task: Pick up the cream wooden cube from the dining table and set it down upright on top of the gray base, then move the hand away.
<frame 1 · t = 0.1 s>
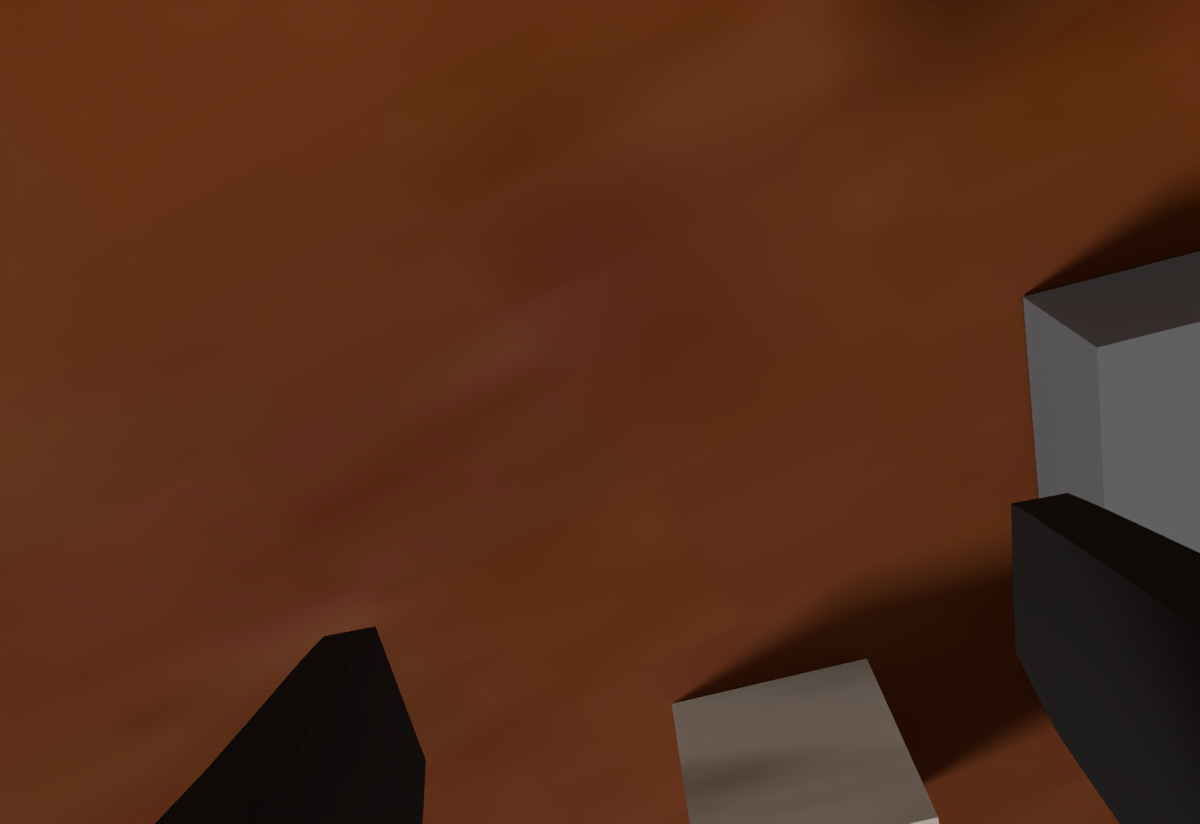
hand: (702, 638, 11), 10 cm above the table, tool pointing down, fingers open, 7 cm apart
cream cube: (785, 751, 25), on the table
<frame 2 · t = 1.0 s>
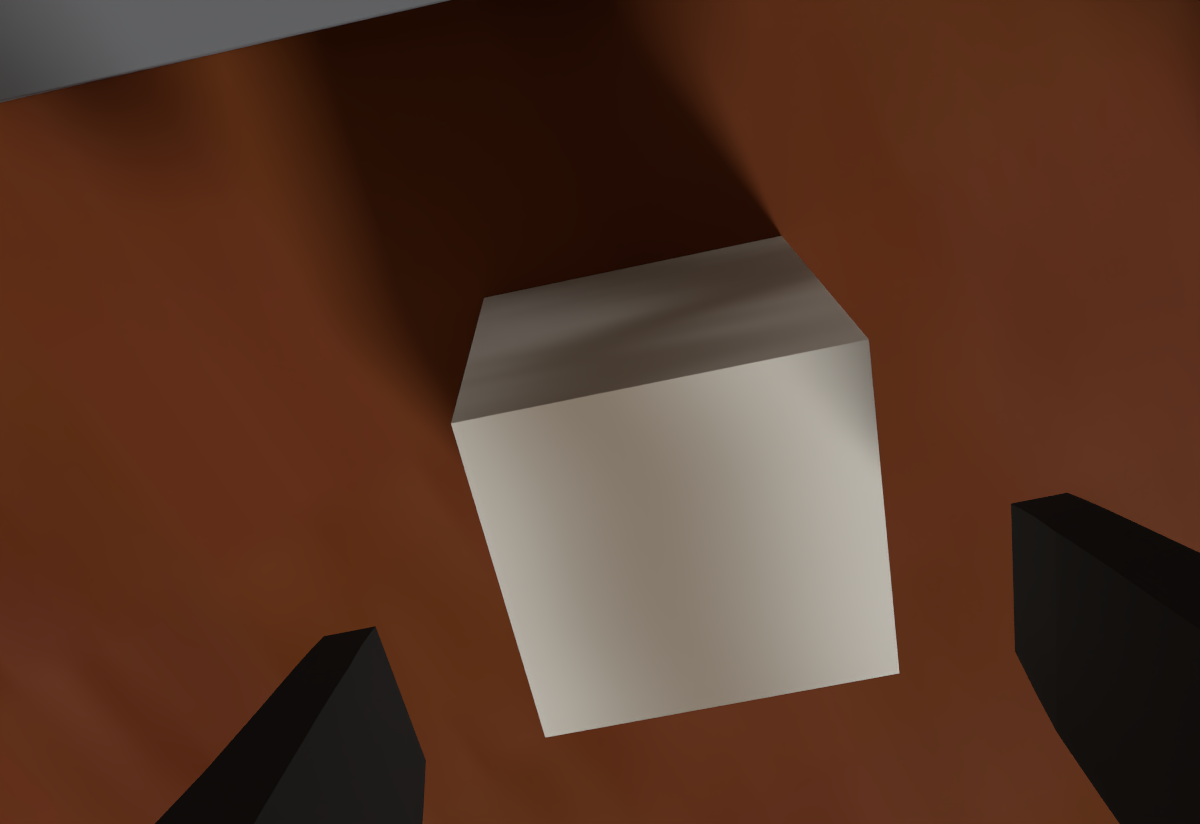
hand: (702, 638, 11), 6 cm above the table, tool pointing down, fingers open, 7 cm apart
cream cube: (657, 400, 17), on the table
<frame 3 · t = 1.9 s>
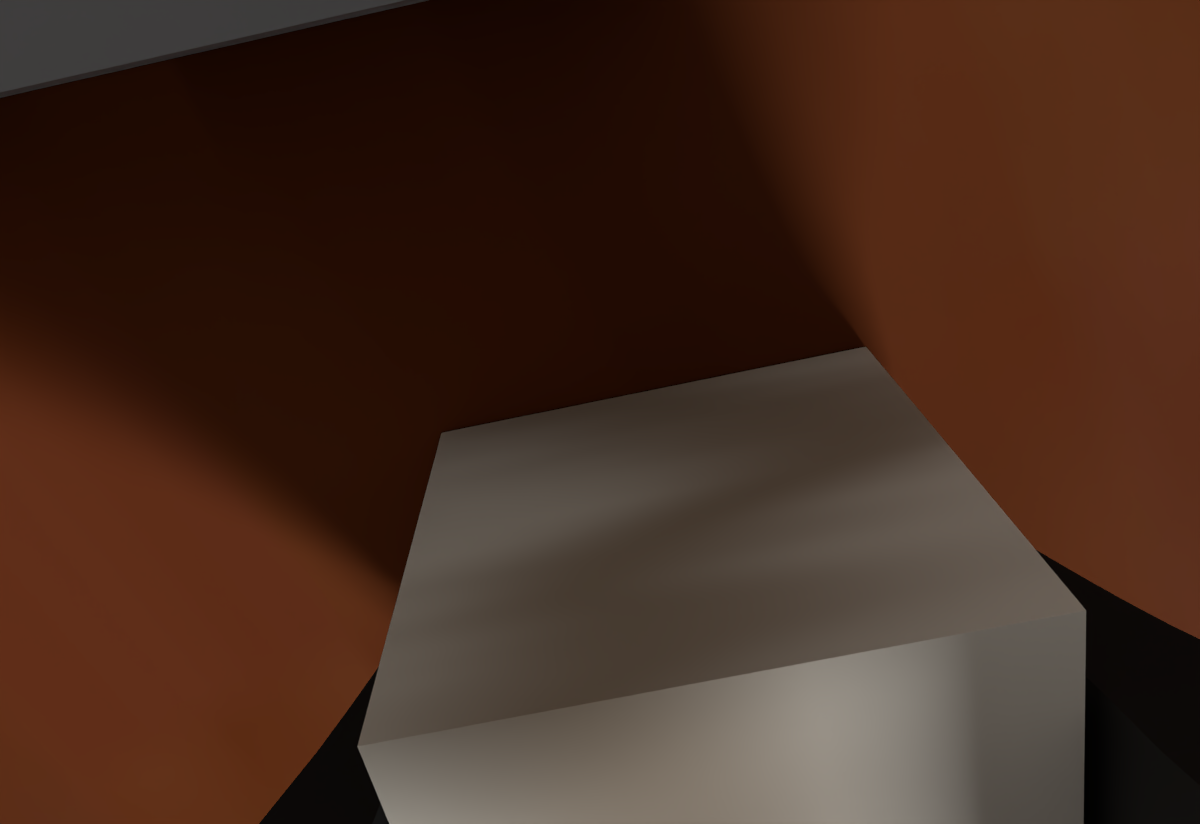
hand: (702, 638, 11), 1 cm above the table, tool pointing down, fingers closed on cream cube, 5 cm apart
cream cube: (686, 567, 12), on the table, touching gripper
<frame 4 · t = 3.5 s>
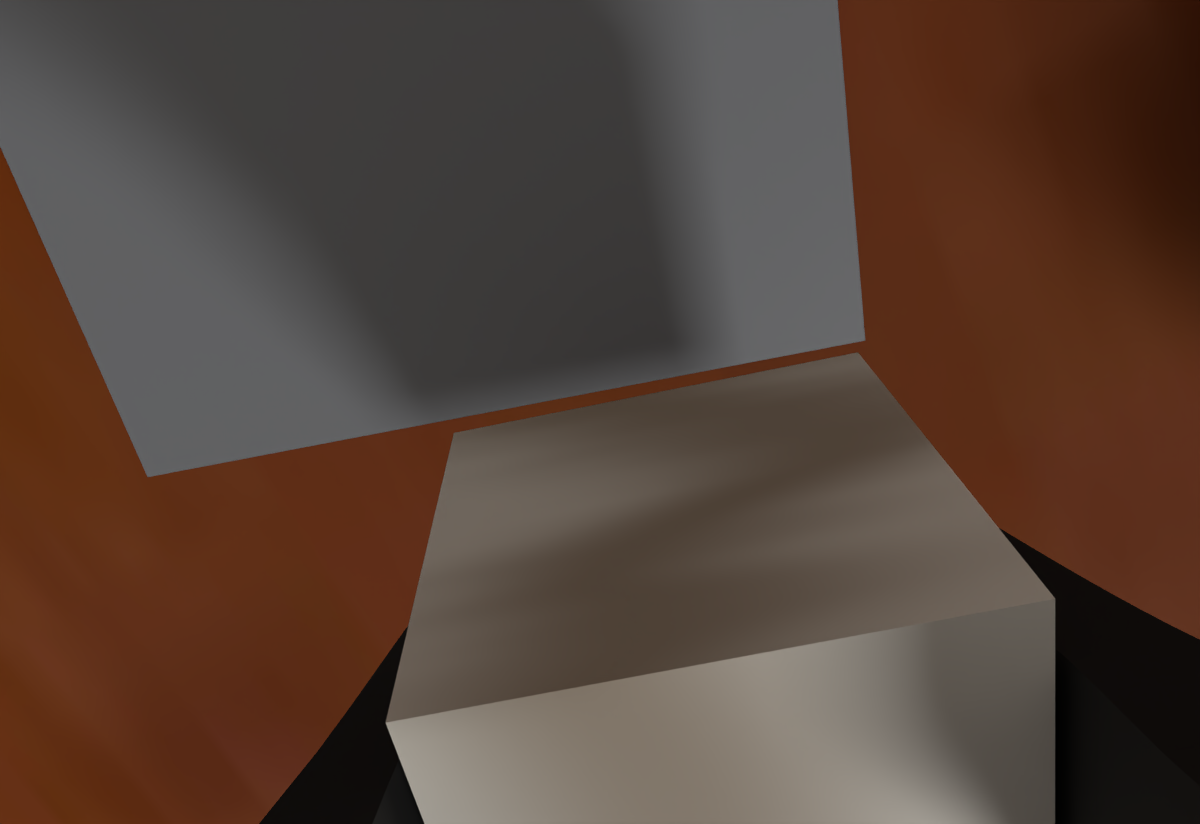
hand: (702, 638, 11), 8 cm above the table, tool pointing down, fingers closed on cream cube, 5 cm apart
gray base: (427, 13, 16), on the table
cream cube: (686, 562, 13), point 7 cm above the table, touching gripper
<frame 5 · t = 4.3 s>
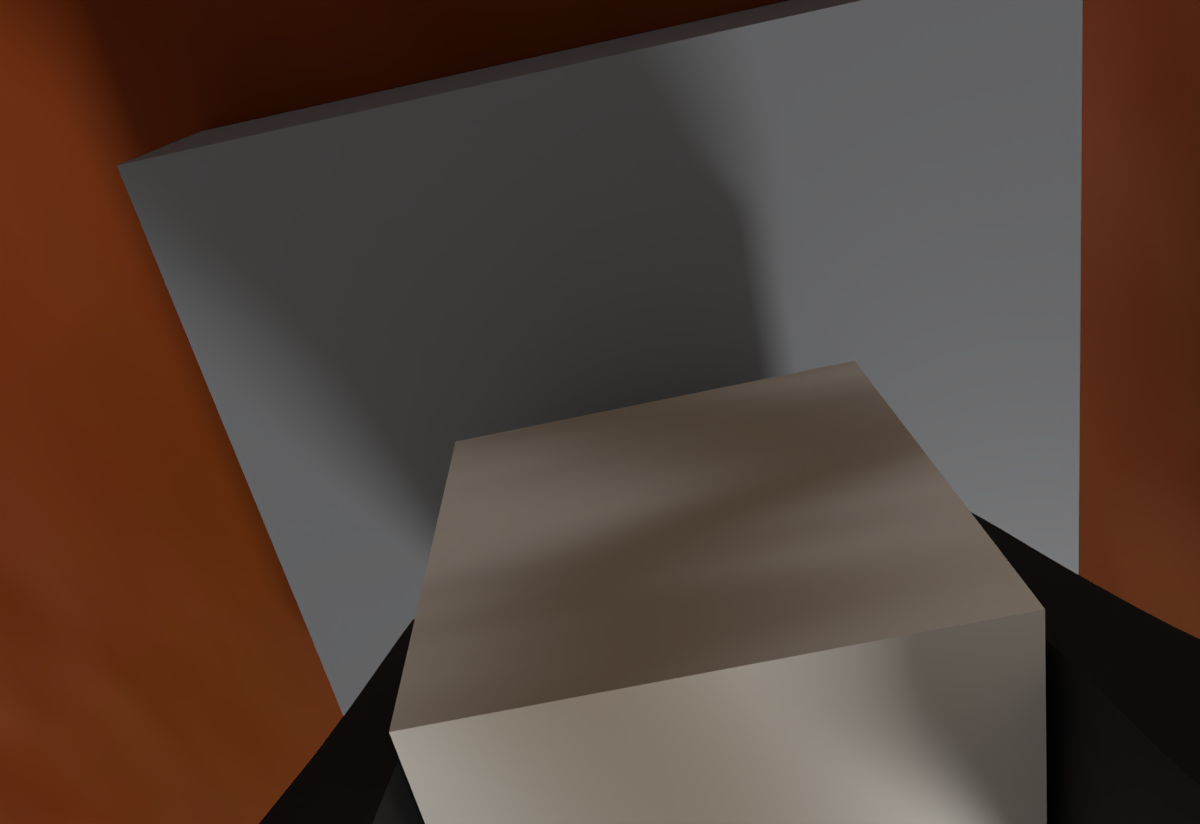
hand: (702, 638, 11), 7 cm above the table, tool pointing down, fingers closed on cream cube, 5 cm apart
gray base: (653, 402, 17), on the table
cream cube: (686, 568, 13), point 5 cm above the table, touching gripper
when the fingers open (6 cm above the table, at t = 4.9 s): cream cube stays where it is, resting on gray base.
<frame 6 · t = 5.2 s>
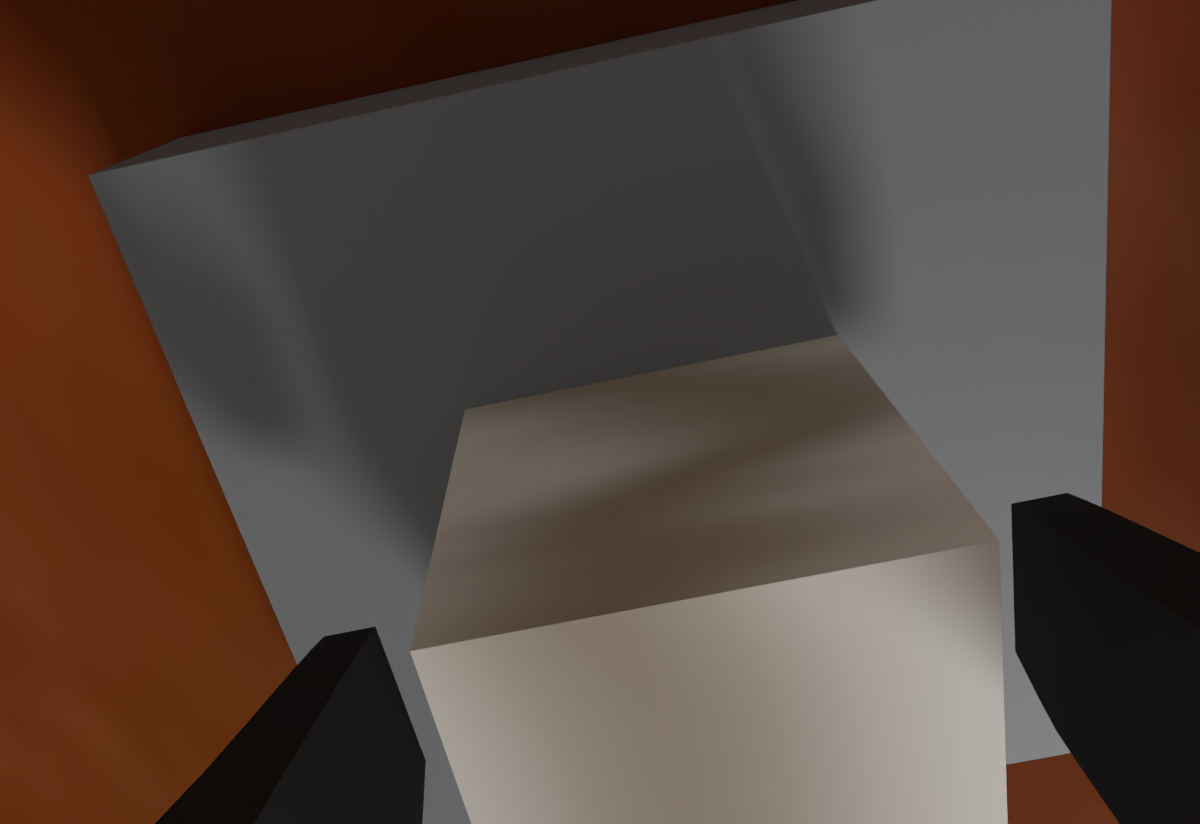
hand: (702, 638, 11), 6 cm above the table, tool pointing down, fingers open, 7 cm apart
gray base: (655, 418, 16), on the table
cream cube: (680, 531, 13), point 3 cm above the table, touching gray base
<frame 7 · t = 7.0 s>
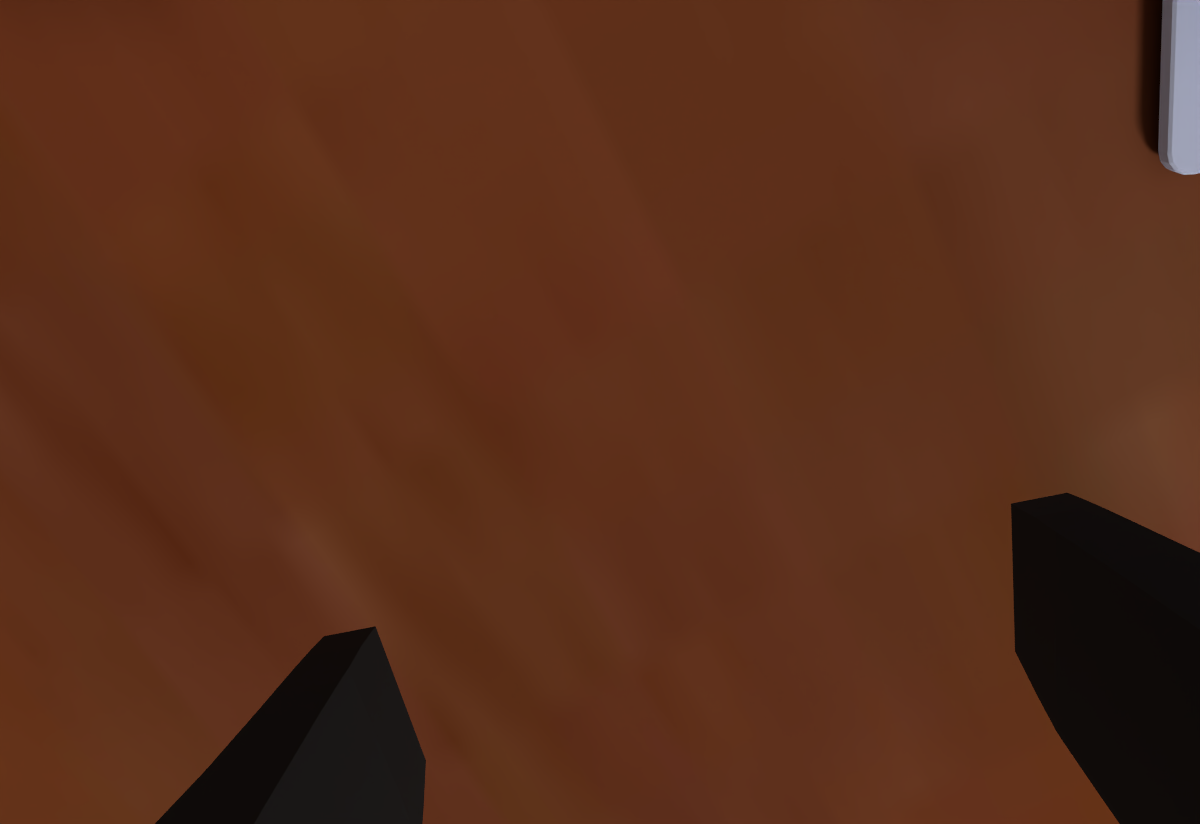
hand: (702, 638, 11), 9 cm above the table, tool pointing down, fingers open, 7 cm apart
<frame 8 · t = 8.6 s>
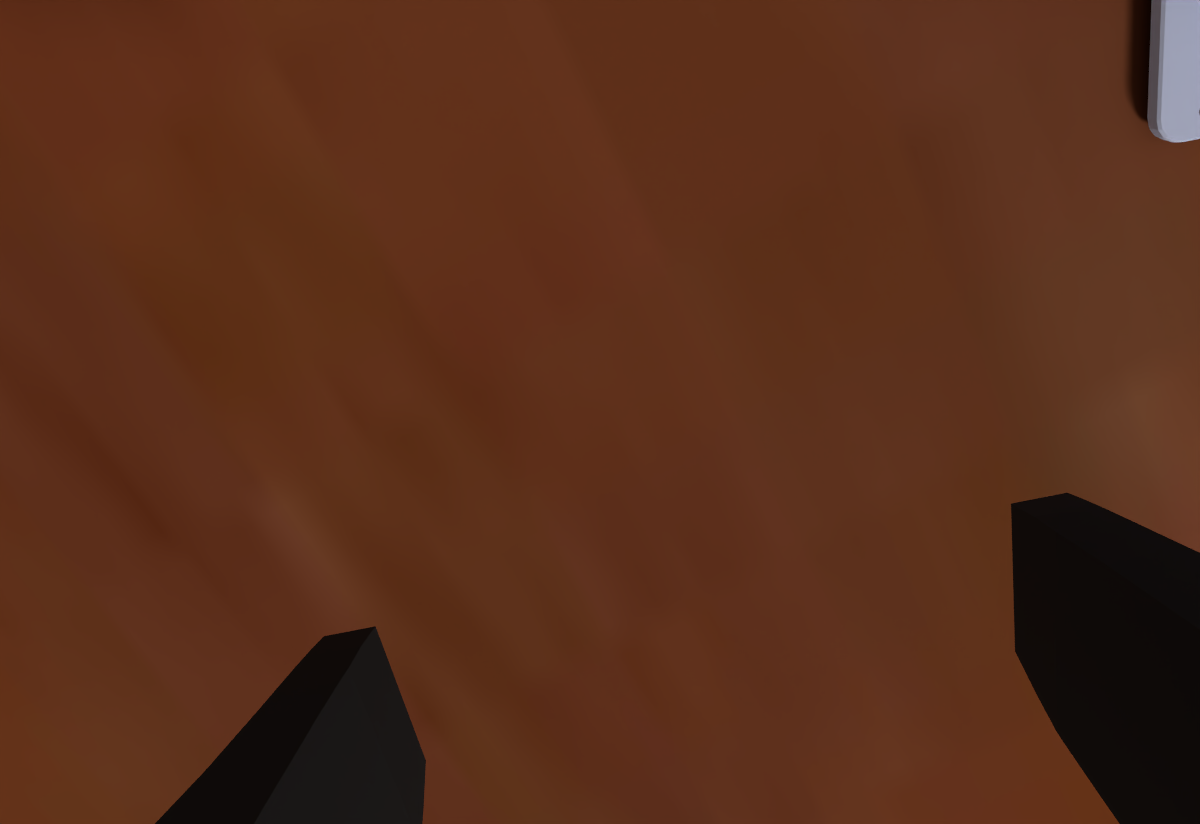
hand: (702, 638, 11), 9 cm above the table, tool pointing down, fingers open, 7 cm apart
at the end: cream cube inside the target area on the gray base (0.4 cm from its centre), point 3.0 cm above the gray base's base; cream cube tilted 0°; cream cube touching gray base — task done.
